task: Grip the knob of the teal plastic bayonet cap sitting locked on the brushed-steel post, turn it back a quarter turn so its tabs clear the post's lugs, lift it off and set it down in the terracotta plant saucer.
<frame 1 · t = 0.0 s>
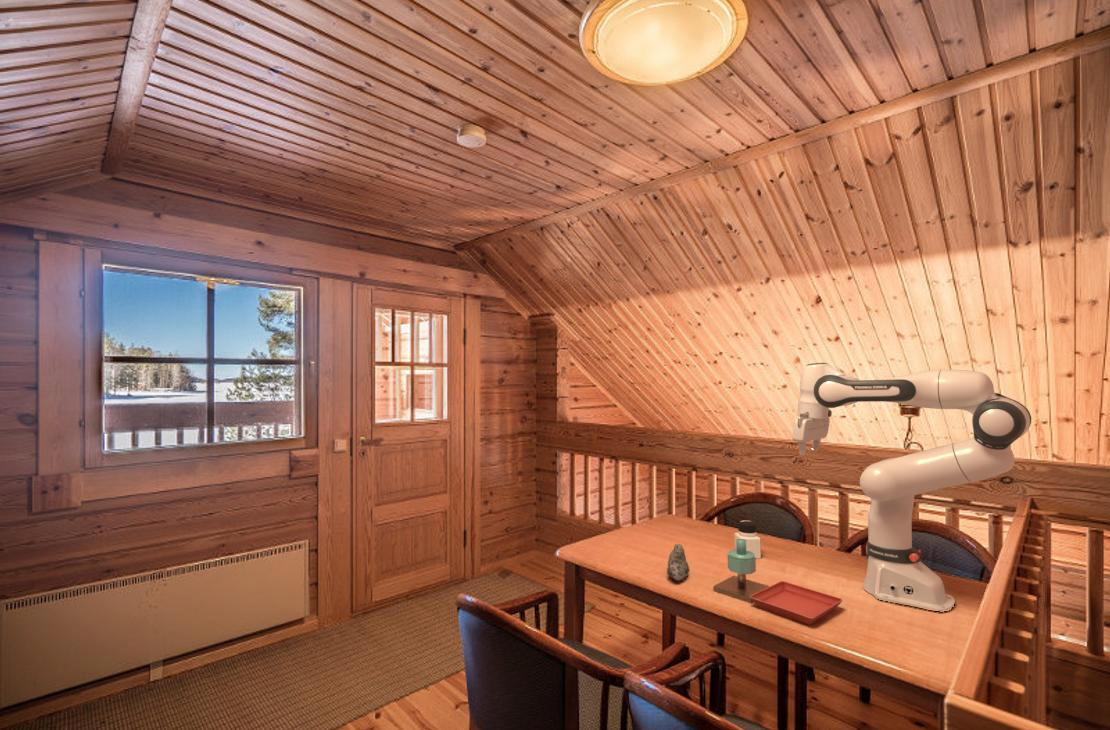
hand: (808, 453, 177), 39 cm above the table, tool pointing down, fingers open, 8 cm apart
medicine bottle: (747, 556, 193), on the table
plant saucer: (795, 610, 150), on the table
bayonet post: (741, 591, 161), on the table
mineral rock: (674, 576, 174), on the table
cap: (741, 569, 161), point 6 cm above the table, touching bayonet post
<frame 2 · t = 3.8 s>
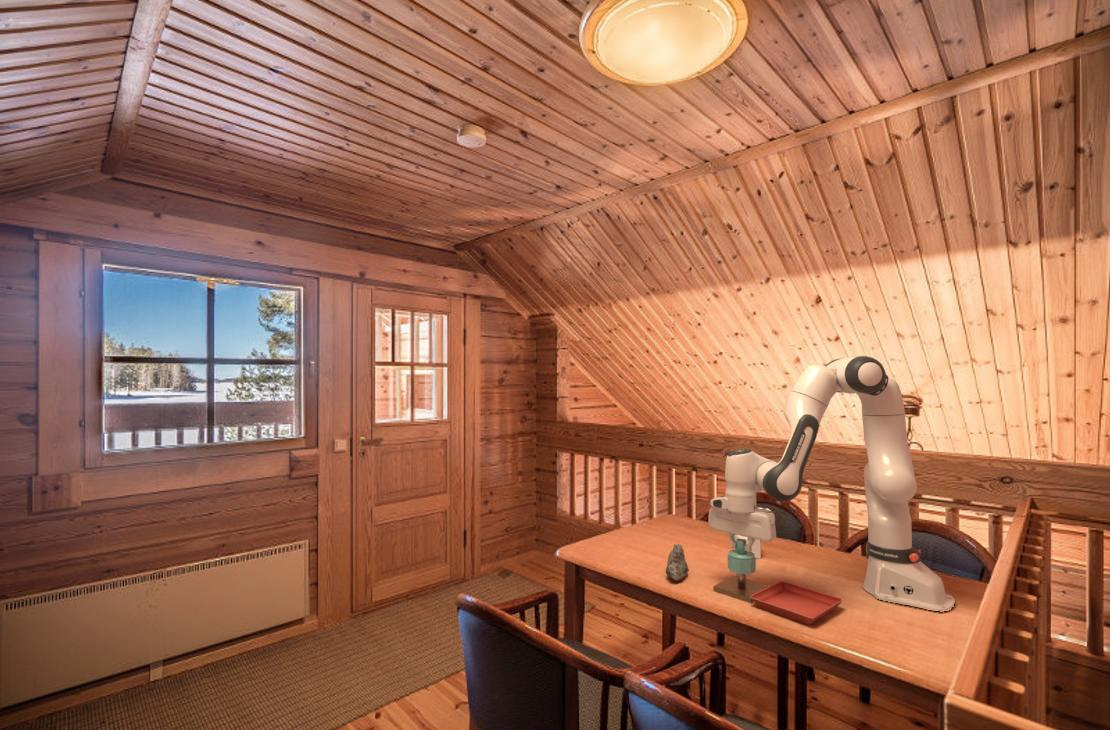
hand: (741, 549, 162), 12 cm above the table, tool pointing down, fingers closed on cap, 3 cm apart
cap: (741, 569, 161), point 6 cm above the table, touching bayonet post, gripper
everything else where it was.
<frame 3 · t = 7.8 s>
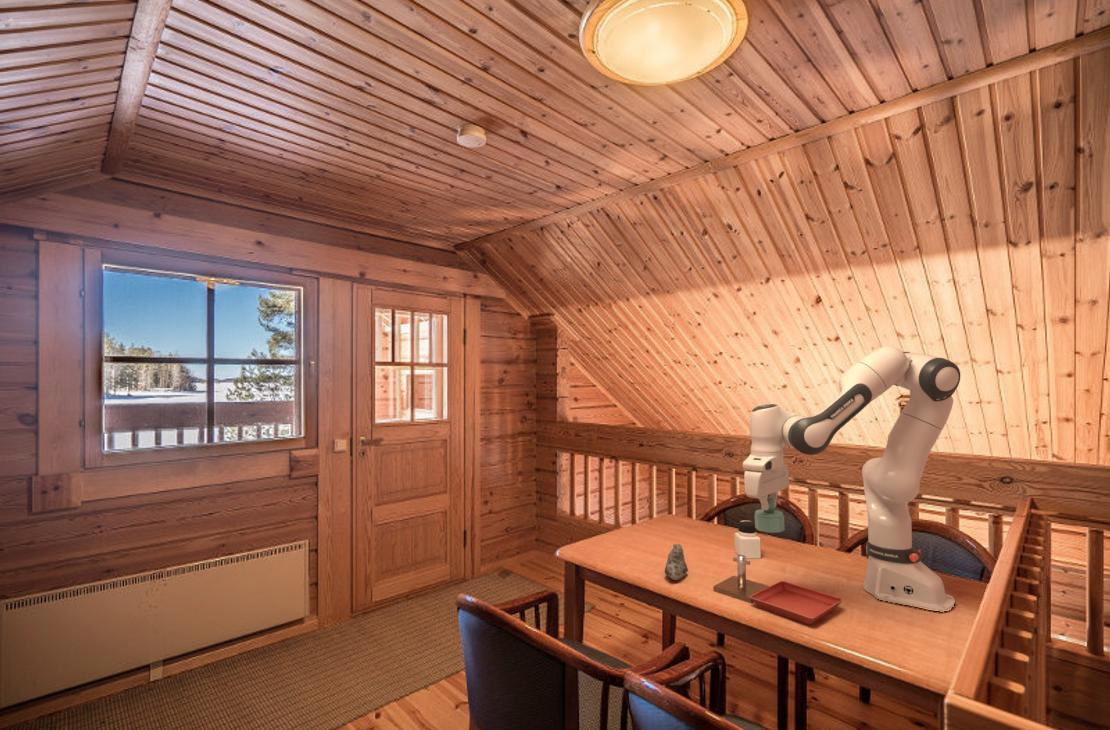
hand: (769, 508, 156), 26 cm above the table, tool pointing down, fingers closed on cap, 3 cm apart
cap: (769, 528, 156), point 20 cm above the table, touching gripper
everything else where it was.
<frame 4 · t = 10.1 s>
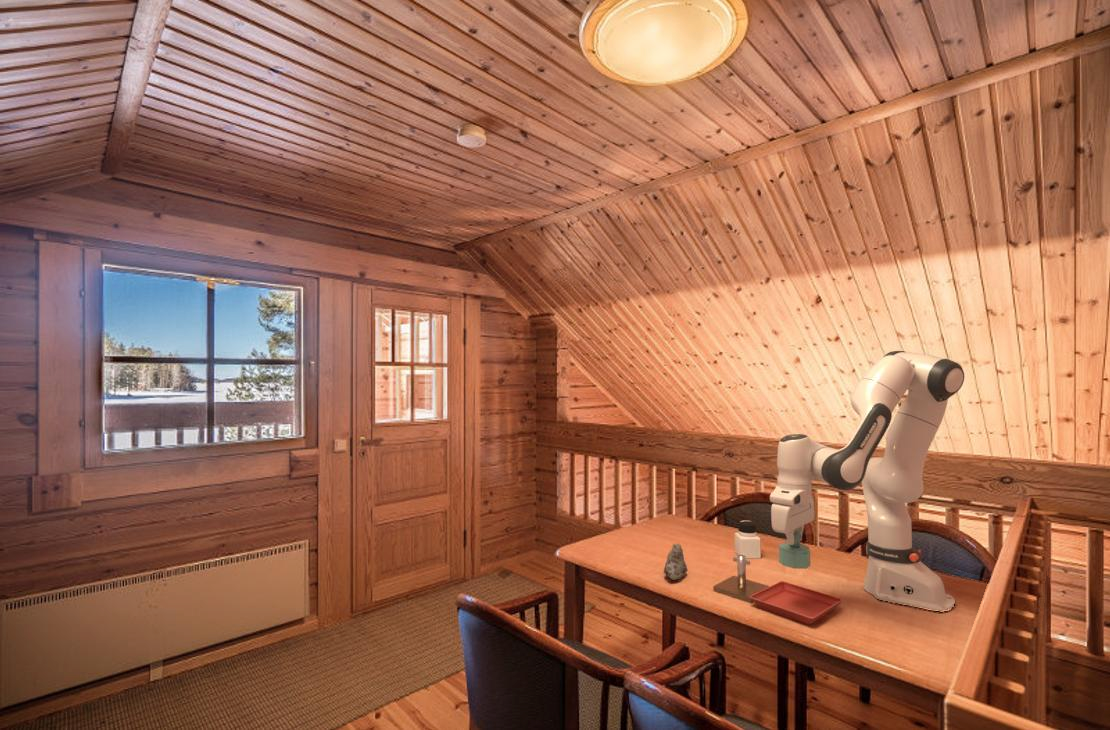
hand: (794, 542, 150), 18 cm above the table, tool pointing down, fingers closed on cap, 3 cm apart
cap: (794, 563, 150), point 12 cm above the table, touching gripper
everything else where it was.
when the fingers open (10 cm above the table, at t = 11.8 s): cap drops 1 cm, point 3 cm above the table.
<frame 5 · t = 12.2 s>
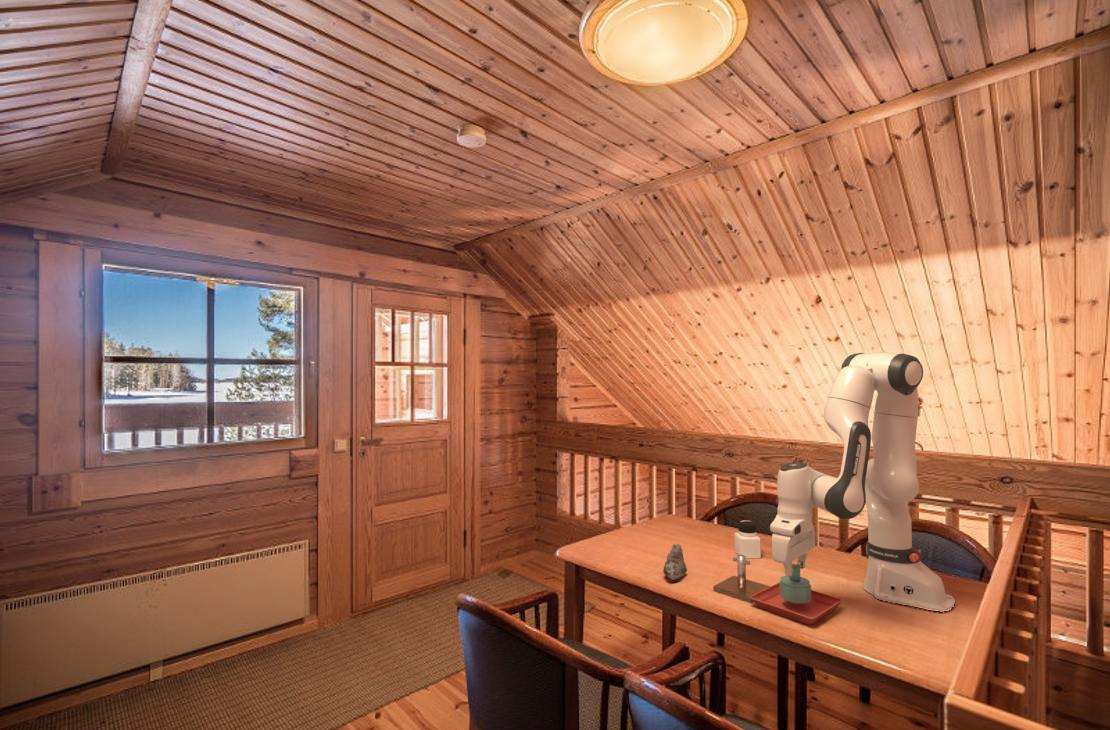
hand: (795, 571, 150), 10 cm above the table, tool pointing down, fingers open, 6 cm apart
cap: (795, 597, 150), point 3 cm above the table
everything else where it was.
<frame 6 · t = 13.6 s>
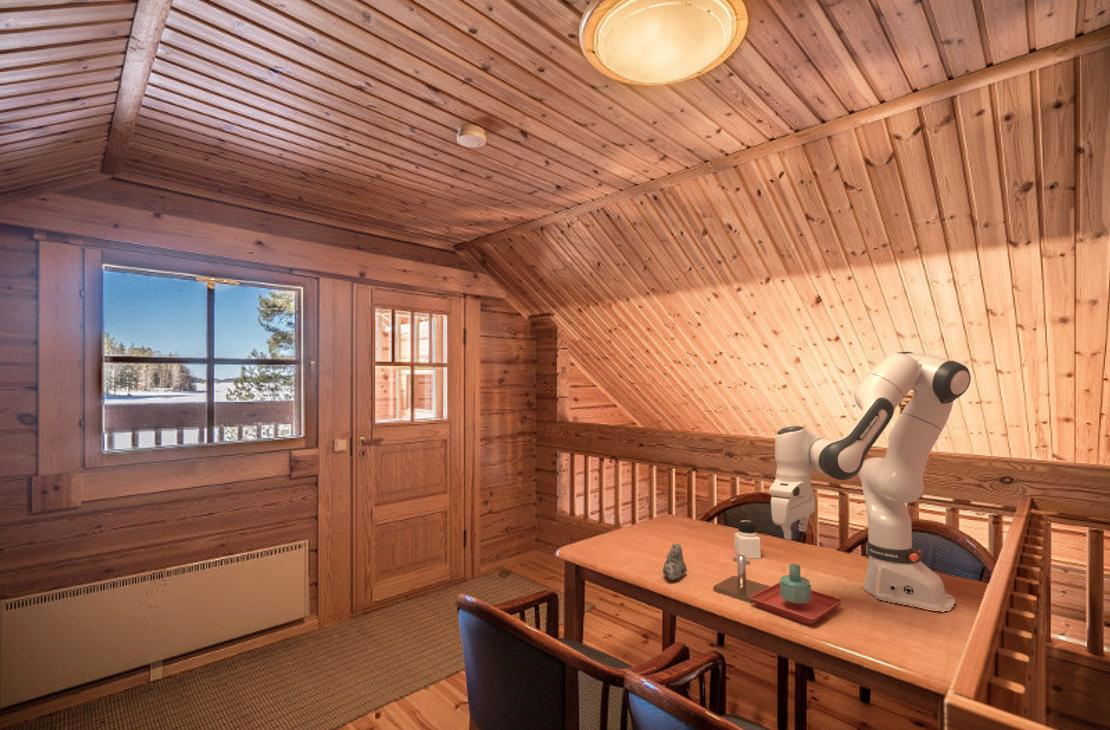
hand: (795, 534, 150), 20 cm above the table, tool pointing down, fingers open, 8 cm apart
plant saucer: (795, 610, 150), on the table, touching cap
cap: (795, 597, 150), point 3 cm above the table, touching plant saucer
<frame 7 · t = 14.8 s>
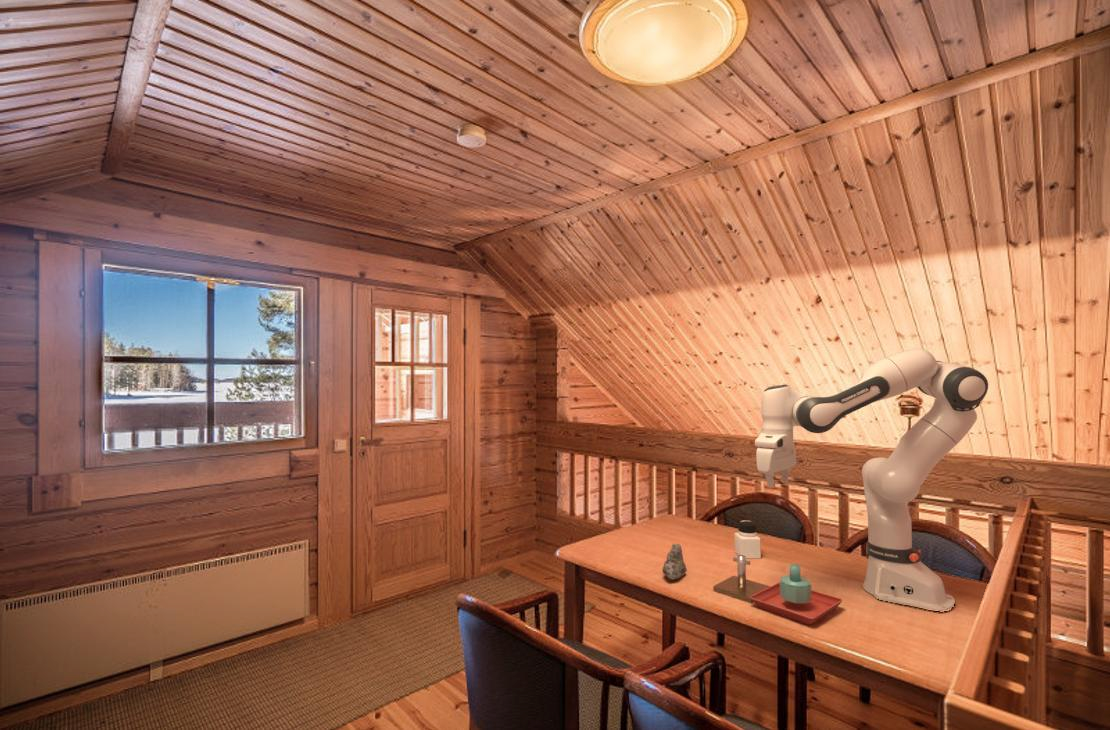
hand: (778, 484, 162), 32 cm above the table, tool pointing down, fingers open, 8 cm apart
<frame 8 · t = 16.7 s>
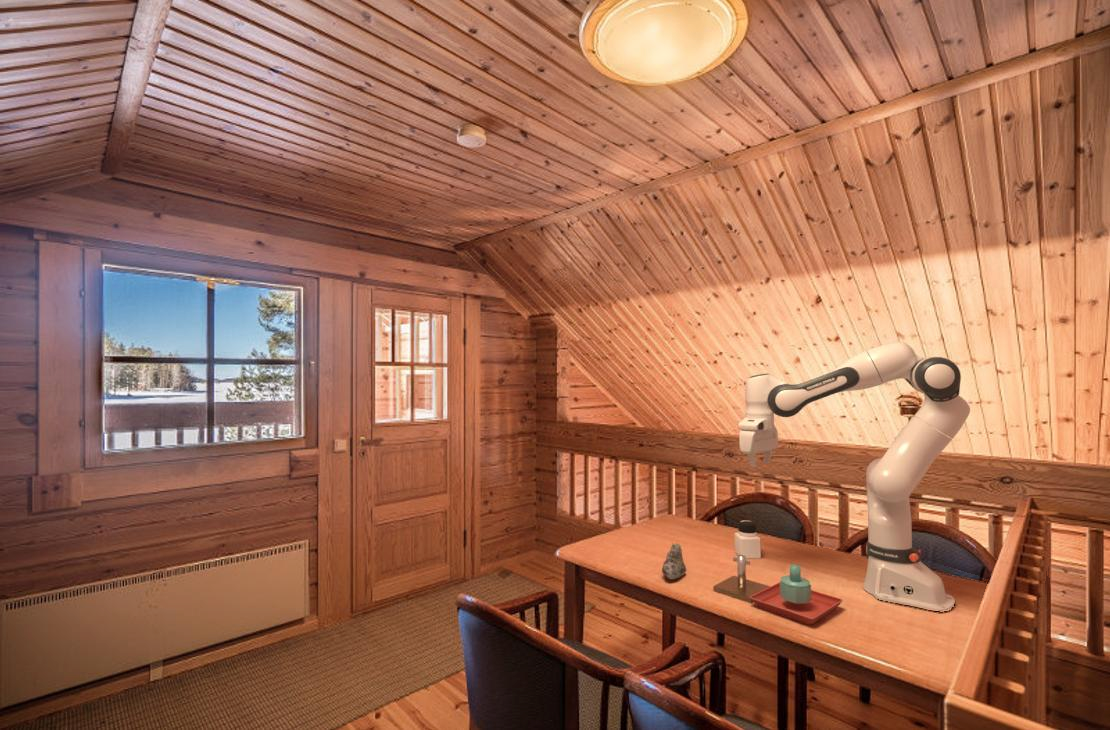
hand: (760, 465, 177), 35 cm above the table, tool pointing down, fingers open, 8 cm apart
plant saucer: (795, 610, 150), on the table
cap: (795, 597, 150), point 3 cm above the table
at the end: cap 0.1 cm from the plant saucer (horizontally); cap point 2.8 cm above the table; the gripper is holding nothing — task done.
